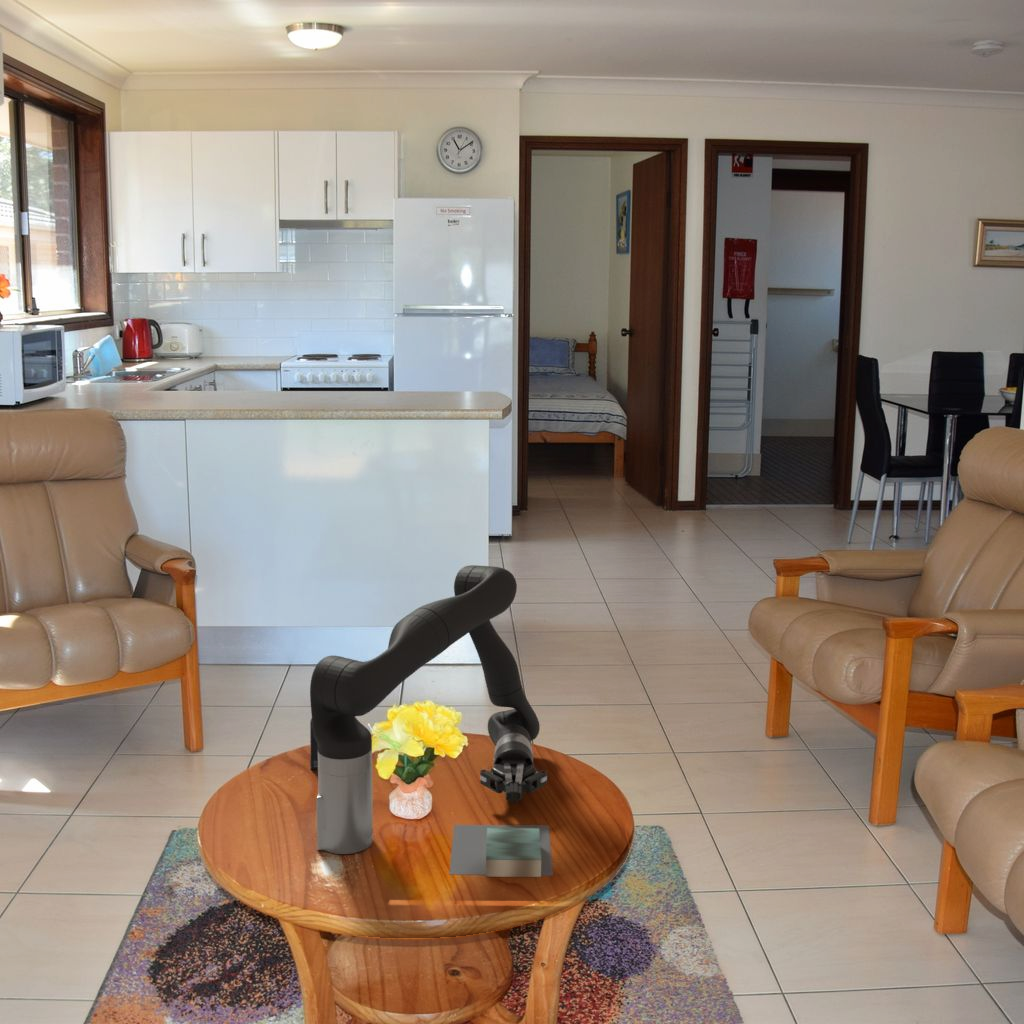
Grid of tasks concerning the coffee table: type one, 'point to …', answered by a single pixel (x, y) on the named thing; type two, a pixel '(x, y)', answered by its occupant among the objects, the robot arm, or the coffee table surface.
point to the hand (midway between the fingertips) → (513, 797)
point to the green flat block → (513, 852)
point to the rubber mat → (472, 849)
